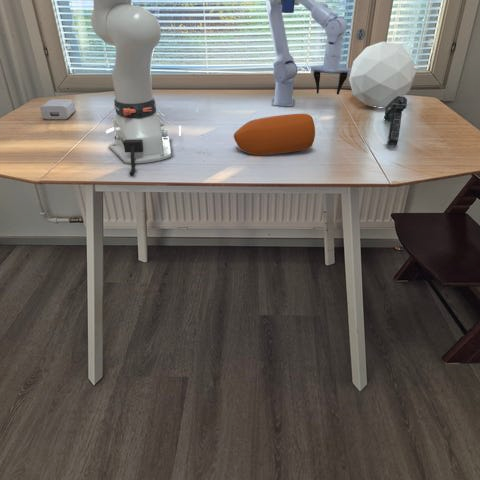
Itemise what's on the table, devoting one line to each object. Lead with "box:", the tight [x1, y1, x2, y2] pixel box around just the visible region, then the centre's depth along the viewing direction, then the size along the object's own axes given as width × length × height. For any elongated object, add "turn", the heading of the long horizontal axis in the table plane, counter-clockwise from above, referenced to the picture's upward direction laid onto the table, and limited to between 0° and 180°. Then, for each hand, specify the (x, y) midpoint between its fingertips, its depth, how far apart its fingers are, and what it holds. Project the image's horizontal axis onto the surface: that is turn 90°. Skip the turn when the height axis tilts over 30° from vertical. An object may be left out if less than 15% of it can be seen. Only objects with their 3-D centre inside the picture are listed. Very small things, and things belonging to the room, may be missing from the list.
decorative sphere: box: [348, 41, 417, 110], centre depth 160 cm, size 24×25×25 cm
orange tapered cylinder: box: [233, 113, 316, 156], centre depth 124 cm, size 12×11×25 cm
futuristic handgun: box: [383, 96, 408, 147], centre depth 138 cm, size 4×29×15 cm, turn 164°
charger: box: [39, 98, 76, 120], centre depth 153 cm, size 5×9×15 cm
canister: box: [281, 0, 295, 14], centre depth 129 cm, size 4×4×5 cm
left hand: (287, 4), depth 130 cm, fingers closed on canister, 4 cm apart
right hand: (327, 93), depth 156 cm, fingers open, 7 cm apart
